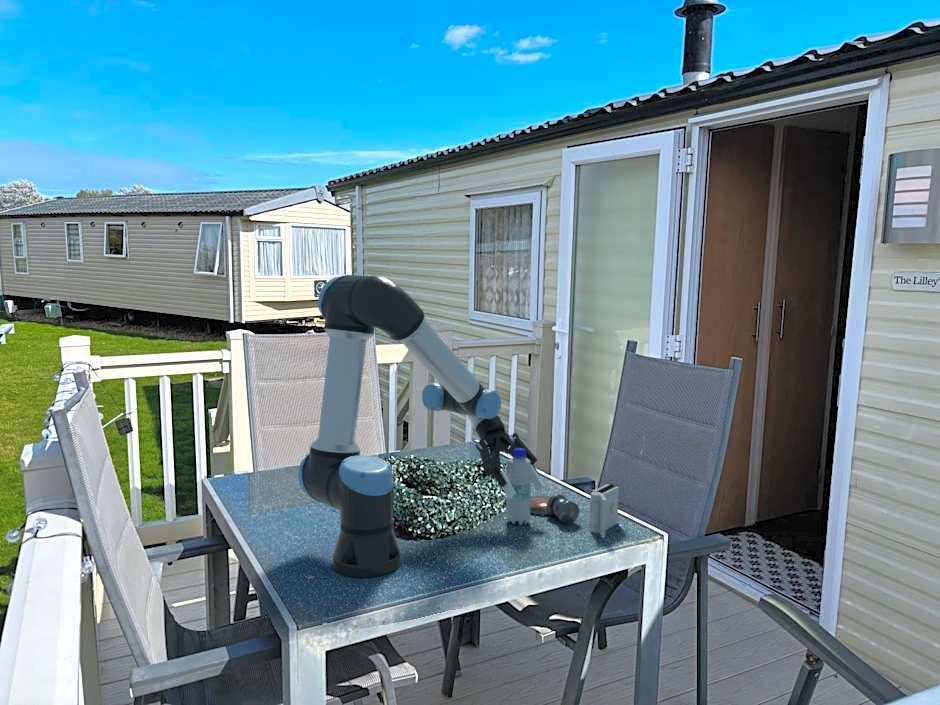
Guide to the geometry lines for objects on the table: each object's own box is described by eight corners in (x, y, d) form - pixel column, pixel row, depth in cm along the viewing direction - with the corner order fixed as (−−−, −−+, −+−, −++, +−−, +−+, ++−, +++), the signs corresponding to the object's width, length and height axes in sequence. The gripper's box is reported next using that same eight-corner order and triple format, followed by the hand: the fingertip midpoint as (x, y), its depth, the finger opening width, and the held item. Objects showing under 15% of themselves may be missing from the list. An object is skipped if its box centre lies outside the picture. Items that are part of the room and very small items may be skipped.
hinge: (604, 539, 168) (605, 500, 166) (583, 536, 170) (584, 497, 169) (619, 521, 180) (620, 485, 179) (599, 518, 182) (600, 482, 181)
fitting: (591, 520, 180) (592, 499, 180) (545, 527, 175) (545, 504, 174) (554, 497, 199) (555, 477, 199) (511, 502, 194) (511, 481, 194)
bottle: (526, 516, 183) (527, 444, 180) (534, 525, 176) (535, 450, 174) (502, 518, 181) (503, 445, 179) (509, 527, 175) (510, 451, 173)
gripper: (508, 424, 195) (548, 491, 185) (448, 435, 180) (488, 508, 170) (522, 409, 191) (563, 476, 180) (461, 419, 176) (503, 493, 166)
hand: (526, 492), depth 175 cm, fingers open, 10 cm apart
